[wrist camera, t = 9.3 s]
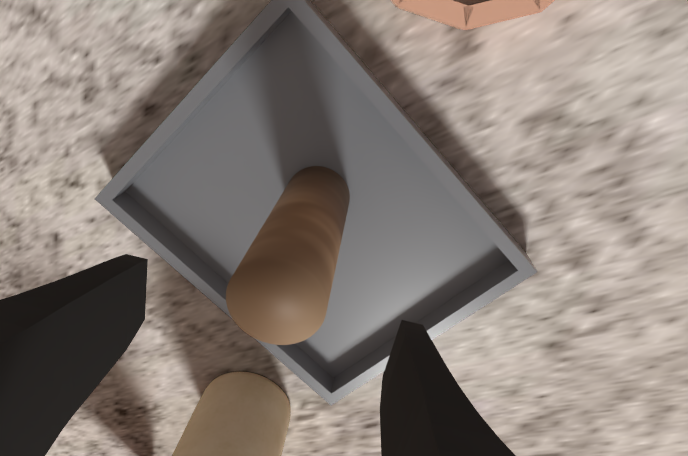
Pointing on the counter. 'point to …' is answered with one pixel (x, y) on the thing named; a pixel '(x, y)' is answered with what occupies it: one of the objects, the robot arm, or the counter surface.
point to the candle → (237, 418)
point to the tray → (327, 151)
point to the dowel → (292, 261)
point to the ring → (472, 11)
